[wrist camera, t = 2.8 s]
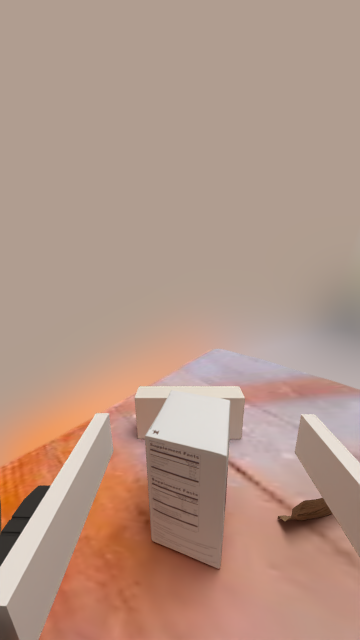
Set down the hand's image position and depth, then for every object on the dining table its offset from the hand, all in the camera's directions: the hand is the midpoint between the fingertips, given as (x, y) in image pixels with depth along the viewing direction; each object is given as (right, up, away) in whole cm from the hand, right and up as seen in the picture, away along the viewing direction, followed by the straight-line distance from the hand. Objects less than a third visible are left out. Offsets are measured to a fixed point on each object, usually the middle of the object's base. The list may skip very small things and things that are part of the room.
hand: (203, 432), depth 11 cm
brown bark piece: (+20, -22, +17) cm, 34 cm away
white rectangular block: (+1, -18, +31) cm, 36 cm away
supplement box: (0, -22, +17) cm, 28 cm away
